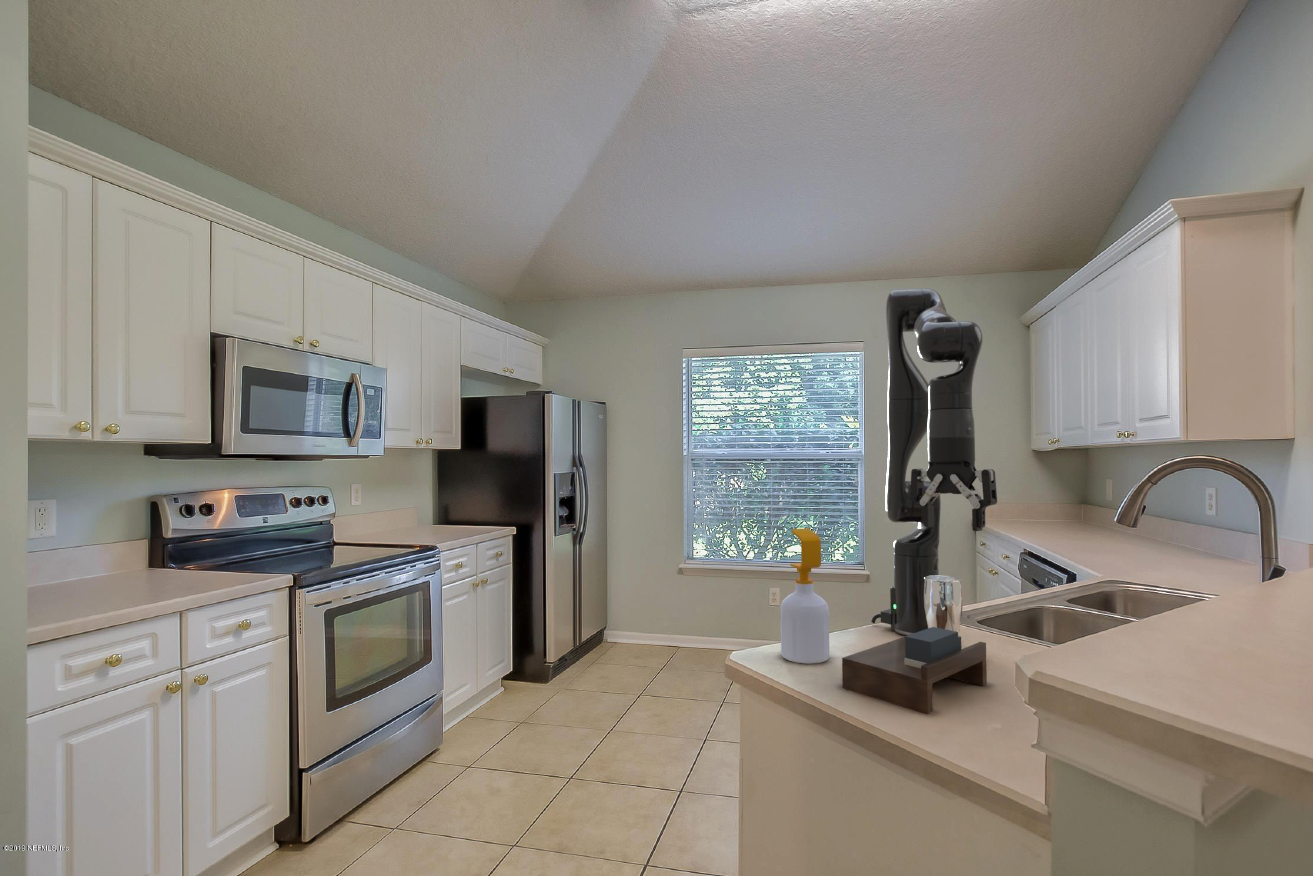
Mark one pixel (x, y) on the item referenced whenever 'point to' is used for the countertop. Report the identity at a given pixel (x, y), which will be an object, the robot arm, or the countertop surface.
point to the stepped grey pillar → (930, 645)
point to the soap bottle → (805, 609)
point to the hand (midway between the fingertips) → (952, 528)
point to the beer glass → (943, 602)
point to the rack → (909, 673)
